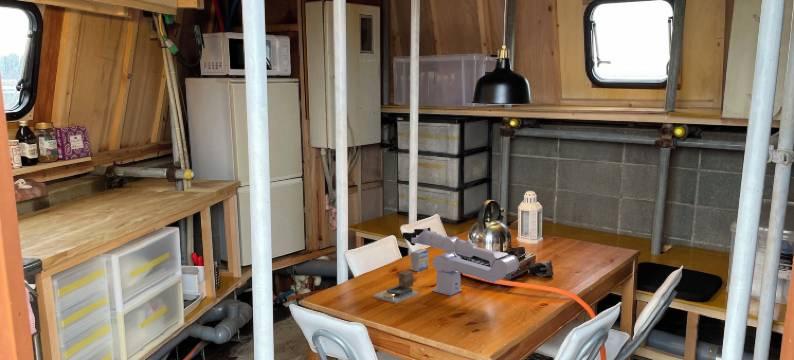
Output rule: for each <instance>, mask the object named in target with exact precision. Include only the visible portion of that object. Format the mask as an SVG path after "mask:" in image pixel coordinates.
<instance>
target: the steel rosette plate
mask: <svg viewBox="0 0 794 360" xmlns="http://www.w3.org/2000/svg"><path fill="white" fill-rule="evenodd" d="M418 295H420V292H419V291H418V290H417V291H416V290H413V288H412V287H411V286H410V287H406V286H402V285H401V286H400V285H399V284H398V285H396V286H393V287H391V288H388V289H385V290H383V291H380V292H378V293H375V294H373V298H375V299H379V300H382V301H386V302H389V303H393V304H398V303H401V302H403V301H406V300H408V299H411V298H413V297H416V296H418Z"/></svg>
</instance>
